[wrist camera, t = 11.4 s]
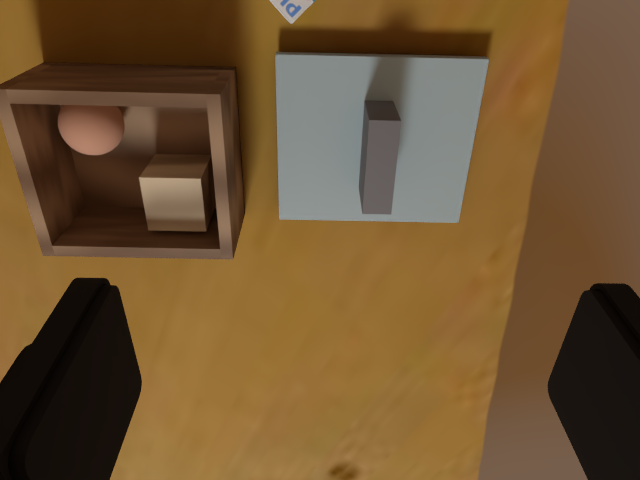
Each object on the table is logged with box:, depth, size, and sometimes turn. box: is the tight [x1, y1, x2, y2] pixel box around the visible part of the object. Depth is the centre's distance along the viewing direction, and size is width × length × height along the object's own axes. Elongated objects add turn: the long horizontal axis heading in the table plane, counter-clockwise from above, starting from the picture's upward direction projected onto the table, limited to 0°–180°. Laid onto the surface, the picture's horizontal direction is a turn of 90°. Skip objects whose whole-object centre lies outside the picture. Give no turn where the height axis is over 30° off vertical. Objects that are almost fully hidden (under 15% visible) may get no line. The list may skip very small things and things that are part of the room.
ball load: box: [58, 105, 125, 155], centre depth 42 cm, size 5×5×5 cm
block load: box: [139, 154, 216, 232], centre depth 45 cm, size 5×5×5 cm
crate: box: [0, 63, 245, 259], centre depth 43 cm, size 14×16×8 cm
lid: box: [275, 52, 489, 223], centre depth 44 cm, size 15×17×7 cm
